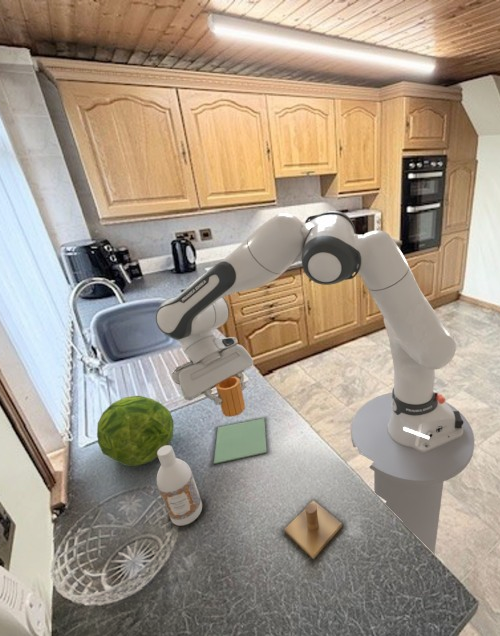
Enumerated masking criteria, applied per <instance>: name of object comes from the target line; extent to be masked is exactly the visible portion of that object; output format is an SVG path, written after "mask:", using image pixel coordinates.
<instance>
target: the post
mask: <svg viewBox="0 0 500 636" xmlns="http://www.w3.org/2000/svg"><path fill="white" fill-rule="evenodd" d="M342 527H343V523H342V522H341V521H340V520H338V519H337V518H336V517H335V516H334V515H333V514H331V513H330V512H329V511H327V510H326V509H325V507H323V506H321V505H320V504H319V503H318V502H316V501H315V500H314V499H313V500H312V501H311V502H309V503H308V504H306V506H305V508H304V509H303V510H301V512H300V513H299V514H298V515H297V516H296V517H295V518H294V519H293V520H292V521H291V522H290V523H289V524H288V525H287V526H286V527H285V528H284V530H283V531H284V533H285V534H286V535H287V536H288V537H289V538H290V539H292V540H293V542H295V543H296V544H297V545H298V546H299V547H300V548H301V549H302V550H303V551H304V552H305V553H306V554H308V556H309V557H310V558H311V559H312V560H315V558H316V557H317V556H318V555H319V554H320V552H321V551H322V550H323V549H324V548H325V547H326V545H327V544H328V543H329V542H330V541H331V540H332V539H333V537H334V536H335V535H336V534H337V533H338V532H339V530H340V529H341V528H342Z"/></svg>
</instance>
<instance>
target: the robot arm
mask: <svg viewBox="0 0 500 636" xmlns="http://www.w3.org/2000/svg"><path fill="white" fill-rule="evenodd" d="M355 227H356V226H355V224H354V223H353V221H352V219H351V218H350V217H349V216H348V215H347V214H346V213H344V212H342V211H338V210H331V211H329V210H328V211H325V212H322V213H319V214H314V215H309V216H308V217H307V218H306V220H305V222H303V221H301V220H300V219H299V218H298V217H296V216H295V215H293V214H291V213H289V212H281V213H278V214H276V215H275V216H273V217H271V218H270V219H268V220H267V221H265V222H264V223H262V224H261V225H260V226H259V227H258V228H257V229H256V230H255V231H253V232H252V233H251V234H250V235H249V236H248V237H247V238H246V239H245V240H244V241H243V242H242V243H241V244H240V245H239V246H238V247H236V248H235V249H234V250H233V251H232V252H230V254H229V255H227V256H226V257H225V258H223V259H221V260H220V261H219V262H218V263H216V264H215V265H214V266H212V267H210V268H209V269H207V271H205V272H204V273H203V274H201V276H199V277H198V278H197V279H195V281H193V282H192V283H191V284H189V286H188V287H186V288H185V289H184V290H182V292H180V293H179V294H178V295H176V296H173V297H170V298H166V299H164V300H163V301H161V303H160V304H159V306H158V308H157V311H156V316H155V322H156V325H157V328H158V329H159V331H160V332H161V333H163V334H164V335H165V336H167V337H168V338H171V339H173V340H175V341H176V342H178V343H179V344H180V345H181V348H182V351H183V353H184V354H185V357H186V358H187V359H188V361H187V362H184V363H183V364H182V365H179V366H176V367H175V368H174V370H173V371H171V378H172V380H173V381H174V383H175V384H176V385H178V387H179V390H180V392H181V394H182V397H183V399H184V400H187V401H192V400H194V399H196V398H197V397H201V395H204V396H205V397H206V398H207V399H209V400H211V401H213V402H214V404H215V405H216V406H218V405H220V403H222V402H223V400H222V399H221V397H220V395H219V396H218V395H215V394H212V393H213V390H212V389H215V388H216V385H217V384H218V383H220V382H222V381H224V380H226V379H228V378H230V377H231V376H235V377H238V378H239V379H240V384H241V389H242V391H244V390H246V389H247V385H246V383H245V378H244V377H245V376H244V372H246V371H248V370H249V369H251V368H252V367H253V366H254V359H253V357H252V355H251V353H250V352H248V350H247V349H246V348H245V347H244V346H243V345H242V344H238V343H239V341H238V339H237V337H235V336H230V337H220V338H216V336H215V335H214V333H213V332H214V331H215V330H217V329H219V328H221V327H223V326H224V325H225V324H226V323H227V322H228V320H229V318H230V307H229V304H228V302H227V300H226V299H225V298H224V297H226V296H230V295H232V294H235V293H236V294H237V293H239V292H244V291H249V290H253V289H258V288H262V287H264V286H266V285H268V284H270V283H272V282H273V281H275V280H276V279H278V278H279V277H280V276H282V275H283V274H284V273H285V272H286V271H287V270H288V269H289V268H290V267H291V266H292V265H294V264H295V263H298V262H301V265H302V269H303V272H304V274H305V276H306V277H307V278H308V279H309V280H310V281H312V282H314V283H316V284H319V285H322V286H330V285H331V286H332V285H336V284H339V283H341V282H343V281H347V280H353V279H354V278H355V277H357V275H358V276H359V277H360V278H361V281H362V282H363V285H364V286H365V288H366V289H367V291H368V293H369V294H370V296H371V298H372V300H373V301H374V303H375V305H376V307H377V308H378V310H379V312H380V314H381V315H382V316H383V324H384V327H385V329H386V333H387V338H388V342H389V348H390V353H391V358H392V364H393V388H392V392H391V393H392V414H391V417H390V420H389V423H388V426H387V430H388V433H389V435H390V436H391V438H392V439H393V440H395V441H396V442H397V443H399V444H401V445H404V446H407V447H411V448H414V449H416V450H418V451H419V452H422V453H425V452H428V451H430V450H432V449H434V448H437V447H439V446H441V445H443V444H446V443H448V442H450V441H452V440H455V439H457V438H459V437H461V436H463V427H462V425H463V420H462V419H461V416H460V413H461V412H460V411H459V410H458V411H453V410H452V409H451V407H450V406H449V405H448V404H449V403H448V402H447V401H446V398H445V397H444V396H443V395H442V394H439V391H438V390H437V389H436V388H435V387H434V386H435V376H436V375H435V374H436V373H435V372H436V371H437V370H440V369H442V368H445V367H446V366H447V365H449V364H450V362H451V361H452V360H453V359H454V357H455V354H456V350H457V345H456V341H455V339H454V338H453V337H452V335H451V333H450V332H449V331H448V330H447V328H446V327H445V326H444V324H443V322H442V320H441V319H440V317H439V316H438V314H437V313H436V311H435V310H434V308H433V307H432V305H431V304H430V301H428V299H427V298H426V296H425V295H424V293H423V291H422V290H421V289H420V286H419V284H418V282H417V280H416V279H415V276H414V273H413V271H412V270H411V267H410V265H409V263H408V261H407V258H406V257H405V255H404V253H403V252H402V250H401V248H400V247H399V246H398V244H397V242H395V240H394V239H393V237H391V235H390V234H389V233H388V232H387V231H385V230H380V229H375V230H369V231H367V232H364V234H358V233H357V232H356V228H355ZM446 402H447V403H448V404H447V403H446ZM459 412H460V413H459Z"/></svg>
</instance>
